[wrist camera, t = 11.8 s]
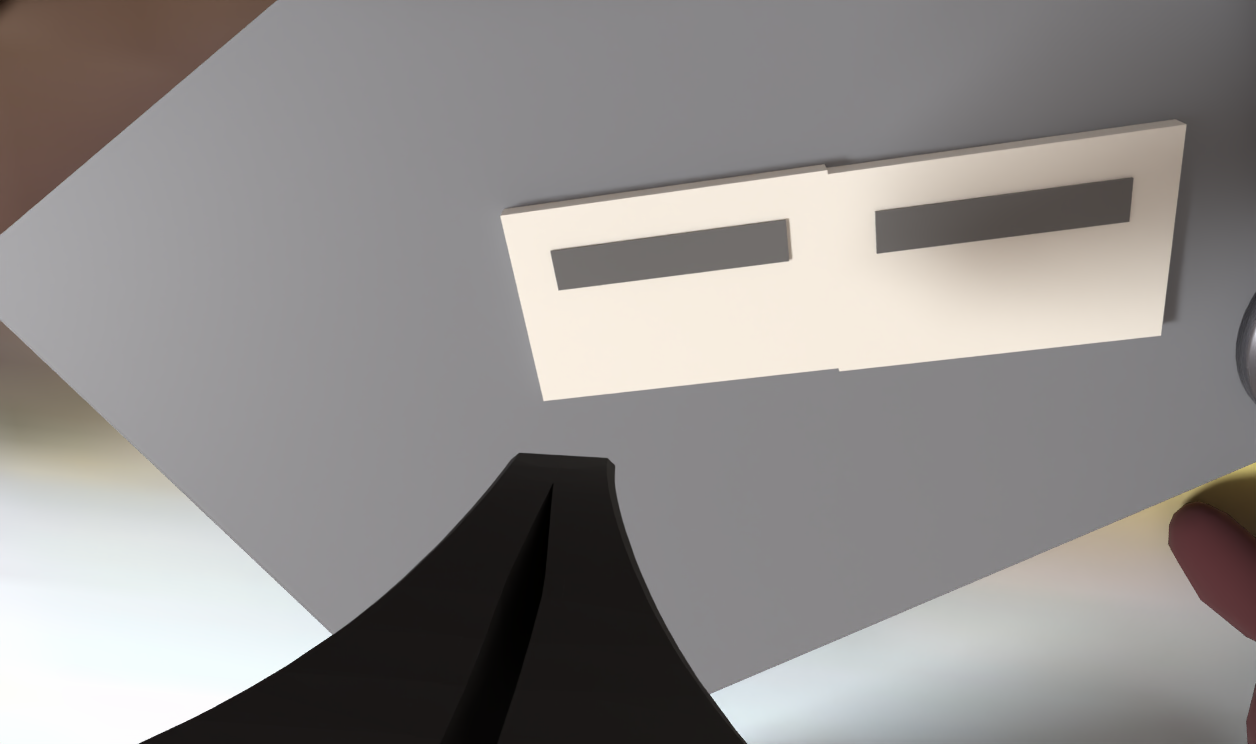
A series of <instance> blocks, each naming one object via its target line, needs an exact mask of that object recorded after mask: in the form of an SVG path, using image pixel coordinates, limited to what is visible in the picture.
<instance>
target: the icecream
mask: <svg viewBox="0 0 1256 744" xmlns="http://www.w3.org/2000/svg"><path fill="white" fill-rule="evenodd" d="M1168 545H1169V546H1170V548H1171V550H1172V552H1173V554H1174V556H1175V558H1176V559H1177V561H1178V563H1179V564H1180V566H1181V568H1182V569H1183V571H1184V573H1185V574H1186V576H1187V578H1188V579H1189V581H1190V583H1191V584H1192V586H1193V588H1194V590H1195V591H1196V593H1197V595H1198V596H1199V598H1200V600H1202V601H1203V602H1204V603H1205V604H1207V605H1208V606H1209V607H1210V608H1211V609H1213V610H1214V611H1215V612H1216V613H1218V614H1219V615H1220V616H1221V617H1223V618H1224V619H1225V620H1226V621H1228V622H1229V623H1230V624H1231V625H1232V626H1234V627H1235V628H1236V629H1237V630H1239V631H1240V632H1241V633H1242V634H1244V635H1245V636H1246V637H1248V638H1250V639H1252V640H1254V641H1256V538H1255V537H1254V536H1253V535H1252V534H1250V533H1249V532H1248V531H1247V530H1246V529H1245V528H1244V527H1242V526H1241V525H1240V524H1239V523H1238V522H1237V521H1235V520H1234V519H1233V518H1232V517H1231V516H1230V515H1228V514H1227V513H1225V512H1223V511H1221V510H1219V509H1217V508H1215V507H1213V506H1211V505H1209V504H1205V503H1202V502H1198V501H1196V502H1192V503H1188V504H1185V505H1184V506H1183V507H1182V508H1180V509H1179V510H1178V511H1177V512H1176V513H1174V515H1173V517H1172V520H1171V522H1170V524H1169V541H1168ZM1246 725H1247V740H1248V744H1256V685H1255V689H1254V693H1253V697H1252V701H1251V705H1250V709H1249V713H1248V717H1247V721H1246Z"/></svg>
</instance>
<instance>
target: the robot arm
mask: <svg viewBox="0 0 1256 744" xmlns="http://www.w3.org/2000/svg"><path fill="white" fill-rule="evenodd" d="M139 744H747V743H746V742H745V740H744V739H743V738H742V737H741V736H740V734H739V733H738V732H737V731H736V730H735V728H734V727H733V726H732V724H731V723H730V722H729V720H728V719H727V718H726V716H725V715H724V713H723V712H722V711H721V709H720V708H719V707H718V705H717V704H716V702H715V701H714V700H713V698H712V697H711V696H710V694H709V693H708V692H707V690H706V689H705V687H704V686H703V685H702V683H701V682H700V681H699V679H698V678H697V676H696V675H695V673H694V671H693V670H692V668H691V667H690V665H689V663H688V662H687V660H686V659H685V657H684V655H683V654H682V652H681V651H680V649H679V647H678V645H677V644H676V642H675V640H674V638H673V637H672V635H671V633H670V631H669V630H668V628H667V626H666V624H665V622H664V620H663V618H662V616H661V615H660V613H659V611H658V609H657V606H656V604H655V602H654V600H653V598H652V596H651V594H650V592H649V589H648V587H647V585H646V583H645V580H644V578H643V576H642V573H641V571H640V569H639V566H638V564H637V561H636V559H635V556H634V553H633V550H632V547H631V544H630V541H629V538H628V536H627V533H626V530H625V526H624V523H623V520H622V516H621V512H620V508H619V504H618V499H617V494H616V487H615V465H614V464H613V463H612V462H611V461H610V460H609V459H608V458H602V457H585V456H568V455H551V454H534V453H518V454H517V455H516V456H515V457H513V458H512V459H511V460H510V461H509V463H508V464H507V465H506V467H505V468H504V469H503V471H502V472H501V473H500V474H499V476H498V477H497V478H496V480H495V481H494V482H493V483H492V485H491V486H490V487H489V488H488V489H487V491H486V492H485V493H484V494H483V495H482V496H481V498H480V499H479V500H478V501H477V502H476V504H475V505H474V506H473V507H472V508H471V509H470V510H469V511H468V513H467V514H466V515H465V516H464V517H463V518H462V519H461V520H460V521H459V522H458V523H457V525H456V526H455V527H454V528H453V529H452V530H451V531H450V532H449V533H448V534H447V535H446V537H445V538H444V539H443V540H442V541H441V542H440V543H439V544H438V545H437V546H436V547H435V548H434V549H433V550H432V551H431V552H430V553H429V554H428V555H426V556H425V557H424V558H423V559H422V560H421V561H420V562H419V563H418V564H417V565H416V566H415V567H414V568H413V569H412V570H411V571H410V572H409V573H408V574H407V575H406V576H405V577H404V578H402V579H401V580H400V581H399V582H398V583H397V584H396V585H395V586H393V587H392V588H391V589H390V590H389V591H388V592H387V593H385V594H384V595H383V596H382V597H381V598H380V599H378V600H377V601H376V602H375V603H374V604H372V605H371V606H370V607H369V608H367V609H366V610H365V611H364V612H362V613H361V614H360V615H358V616H357V617H356V618H355V619H353V620H352V621H351V622H350V623H348V624H347V625H346V626H344V627H343V628H342V629H340V630H339V631H337V632H336V633H335V634H333V635H332V636H330V637H329V638H327V639H326V640H324V641H323V642H321V643H320V644H318V645H317V646H315V647H314V648H312V649H311V650H309V651H308V652H307V653H305V654H304V655H302V656H301V657H299V658H298V659H296V660H295V661H293V662H292V663H290V664H289V665H287V666H286V667H284V668H282V669H281V670H279V671H277V672H276V673H274V674H272V675H271V676H269V677H267V678H266V679H264V680H262V681H260V682H259V683H257V684H255V685H254V686H252V687H250V688H248V689H247V690H245V691H243V692H241V693H239V694H238V695H236V696H234V697H232V698H230V699H228V700H227V701H225V702H223V703H221V704H219V705H217V706H216V707H214V708H212V709H210V710H208V711H206V712H204V713H202V714H200V715H198V716H196V717H194V718H192V719H190V720H188V721H186V722H184V723H182V724H180V725H178V726H175V727H173V728H171V729H169V730H167V731H165V732H163V733H160V734H158V735H156V736H154V737H152V738H150V739H148V740H145V741H143V742H141V743H139Z"/></svg>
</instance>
